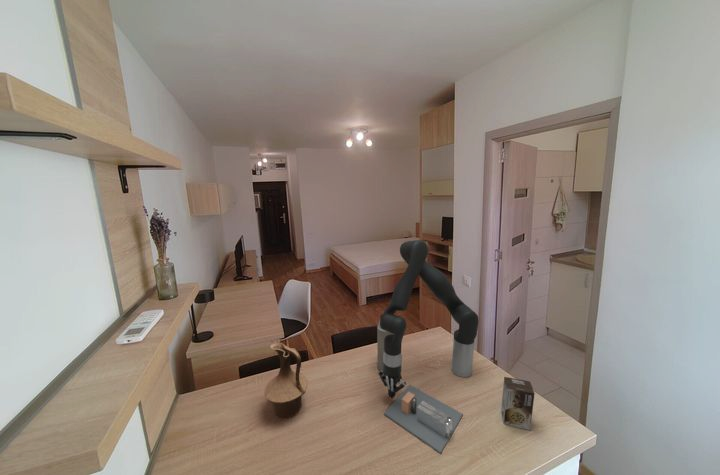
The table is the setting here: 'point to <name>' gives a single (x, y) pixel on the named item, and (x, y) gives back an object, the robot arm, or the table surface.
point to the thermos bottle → (381, 345)
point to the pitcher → (286, 384)
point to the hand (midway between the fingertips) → (391, 396)
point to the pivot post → (414, 405)
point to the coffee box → (517, 403)
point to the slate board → (416, 426)
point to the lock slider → (407, 403)
